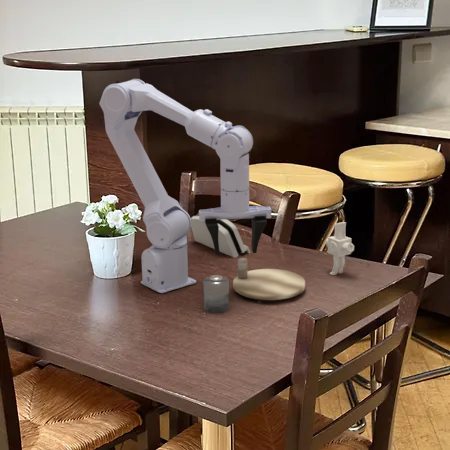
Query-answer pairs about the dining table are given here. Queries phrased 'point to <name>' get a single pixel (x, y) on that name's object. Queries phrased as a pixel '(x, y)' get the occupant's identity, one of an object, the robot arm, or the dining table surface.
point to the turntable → (267, 283)
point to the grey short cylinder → (216, 294)
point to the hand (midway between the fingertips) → (235, 252)
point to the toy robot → (339, 247)
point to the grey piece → (220, 236)
